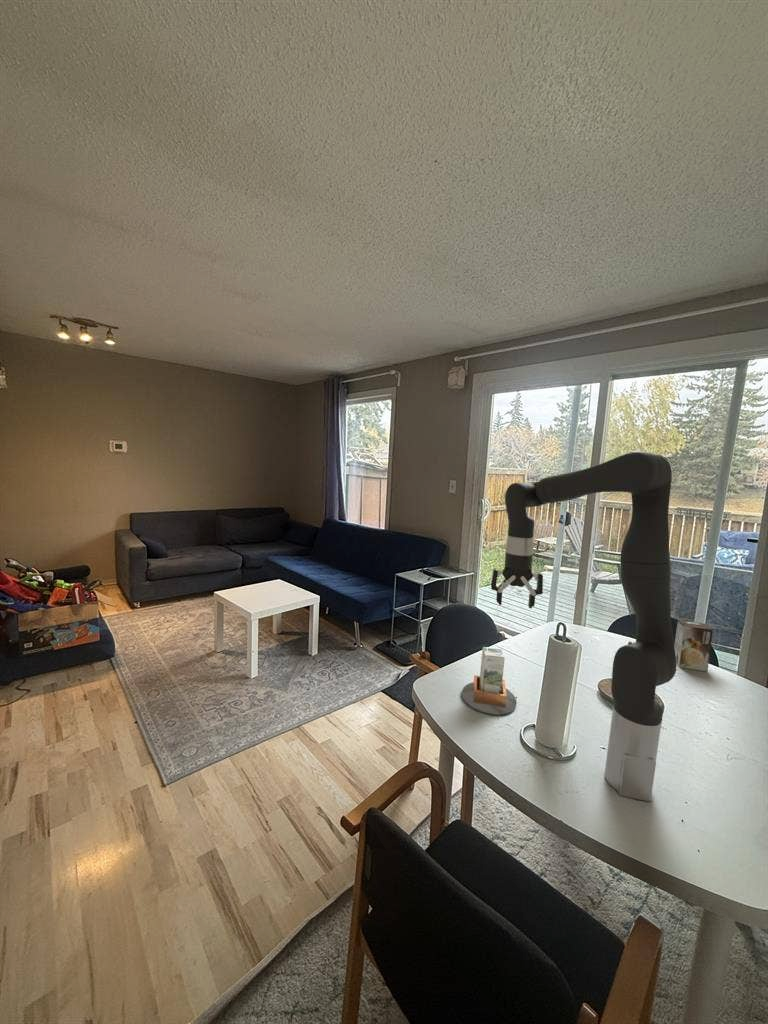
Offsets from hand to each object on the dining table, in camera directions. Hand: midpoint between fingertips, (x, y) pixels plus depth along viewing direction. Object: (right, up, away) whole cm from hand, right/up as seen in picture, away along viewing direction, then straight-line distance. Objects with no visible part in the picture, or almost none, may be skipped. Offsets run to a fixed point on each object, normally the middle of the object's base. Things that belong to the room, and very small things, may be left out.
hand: (514, 605), depth 119 cm
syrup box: (-7, -28, +4) cm, 29 cm away
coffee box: (+75, -30, +32) cm, 87 cm away
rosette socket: (-7, -29, +4) cm, 30 cm away
